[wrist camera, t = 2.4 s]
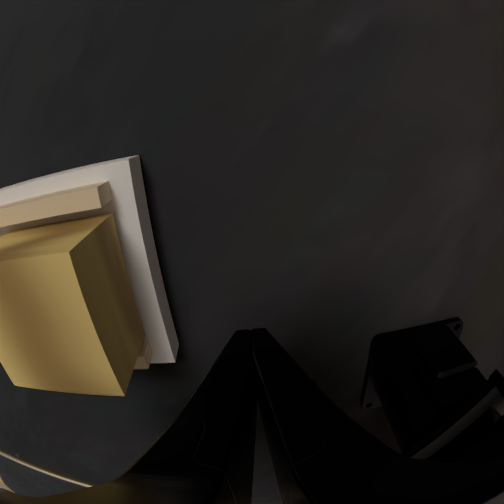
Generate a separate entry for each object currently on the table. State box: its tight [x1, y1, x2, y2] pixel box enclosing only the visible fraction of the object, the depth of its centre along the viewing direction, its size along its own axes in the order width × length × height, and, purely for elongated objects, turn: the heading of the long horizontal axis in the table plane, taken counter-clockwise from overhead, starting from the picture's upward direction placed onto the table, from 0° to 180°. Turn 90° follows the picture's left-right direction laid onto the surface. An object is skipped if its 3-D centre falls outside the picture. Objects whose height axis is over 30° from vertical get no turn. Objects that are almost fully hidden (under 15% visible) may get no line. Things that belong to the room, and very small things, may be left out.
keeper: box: [0, 213, 145, 396], centre depth 11 cm, size 6×6×4 cm
